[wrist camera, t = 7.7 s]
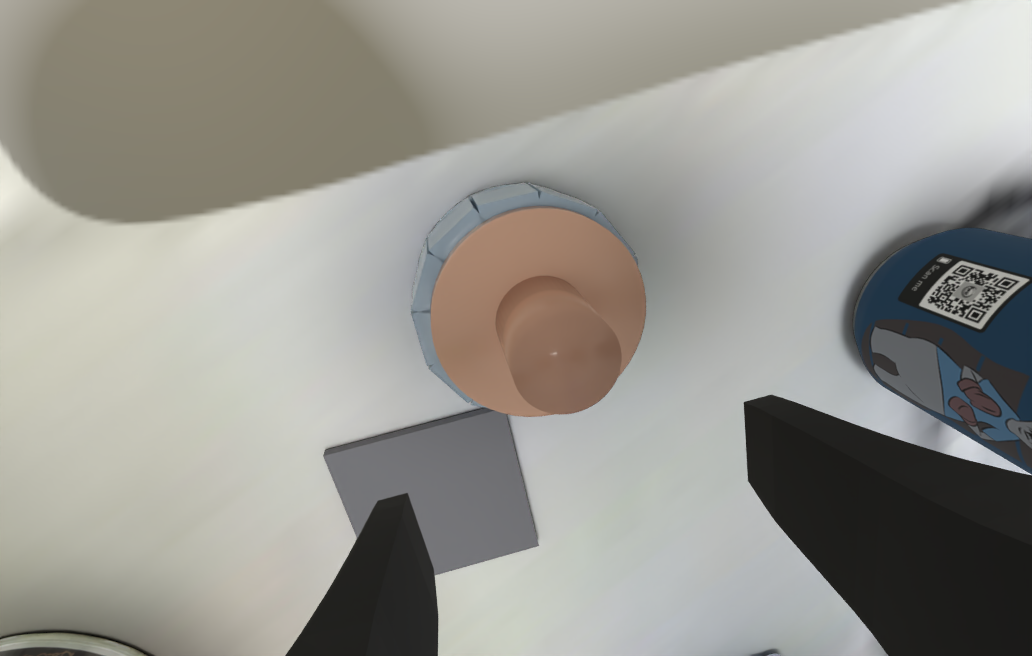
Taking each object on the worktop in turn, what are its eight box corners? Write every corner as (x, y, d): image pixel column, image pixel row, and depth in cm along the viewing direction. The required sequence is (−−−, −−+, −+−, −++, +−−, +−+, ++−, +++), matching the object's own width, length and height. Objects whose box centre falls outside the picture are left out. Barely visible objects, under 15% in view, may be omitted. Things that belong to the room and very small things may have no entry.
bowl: (596, 161, 19) (626, 169, 16) (623, 347, 22) (652, 381, 19) (390, 210, 19) (385, 227, 16) (444, 394, 21) (448, 436, 19)
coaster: (503, 403, 22) (504, 408, 21) (537, 539, 24) (539, 545, 24) (325, 450, 21) (323, 456, 21) (379, 583, 24) (378, 591, 24)
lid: (629, 188, 17) (690, 209, 13) (642, 382, 19) (695, 446, 15) (409, 227, 16) (406, 261, 12) (452, 422, 19) (460, 500, 15)
